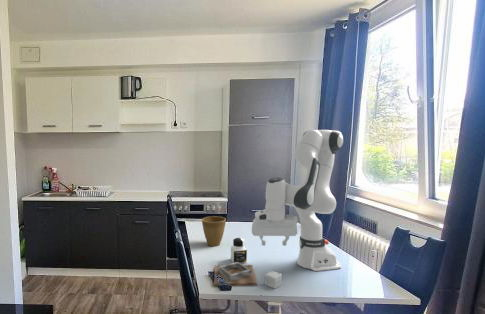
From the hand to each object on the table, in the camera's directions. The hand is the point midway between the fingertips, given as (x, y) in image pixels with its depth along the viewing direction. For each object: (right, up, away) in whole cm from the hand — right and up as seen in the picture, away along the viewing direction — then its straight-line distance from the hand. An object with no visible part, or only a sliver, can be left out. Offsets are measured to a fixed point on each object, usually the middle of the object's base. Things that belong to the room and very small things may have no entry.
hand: (273, 245), depth 129 cm
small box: (0, -18, +1) cm, 18 cm away
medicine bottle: (-16, -17, +27) cm, 35 cm away
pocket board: (-18, -17, +9) cm, 26 cm away
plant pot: (-32, -15, +52) cm, 63 cm away
